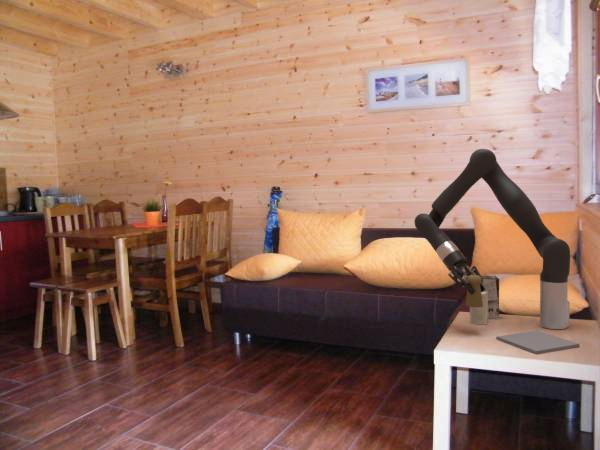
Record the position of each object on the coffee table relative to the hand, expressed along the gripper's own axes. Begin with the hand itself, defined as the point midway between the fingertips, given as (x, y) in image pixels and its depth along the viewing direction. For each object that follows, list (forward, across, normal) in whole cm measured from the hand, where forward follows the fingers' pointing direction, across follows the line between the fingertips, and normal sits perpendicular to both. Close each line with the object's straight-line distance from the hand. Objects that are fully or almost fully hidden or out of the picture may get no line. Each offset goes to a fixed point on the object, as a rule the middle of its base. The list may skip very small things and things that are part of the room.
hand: (478, 291), depth 185 cm
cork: (+2, 0, +5) cm, 6 cm away
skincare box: (+4, +13, +18) cm, 23 cm away
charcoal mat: (+24, +6, -2) cm, 25 cm away
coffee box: (+2, +26, +21) cm, 33 cm away
